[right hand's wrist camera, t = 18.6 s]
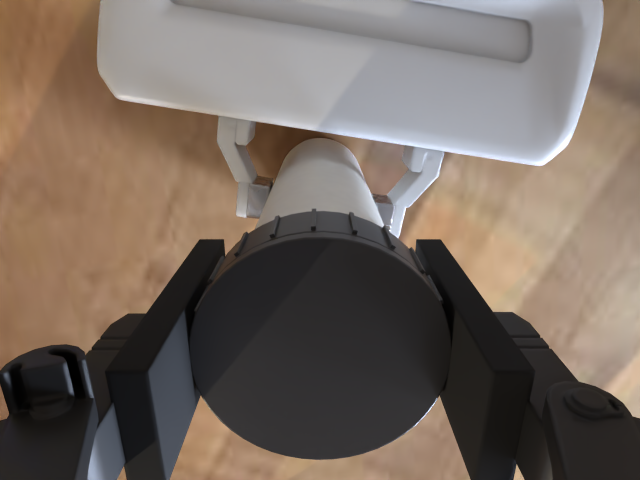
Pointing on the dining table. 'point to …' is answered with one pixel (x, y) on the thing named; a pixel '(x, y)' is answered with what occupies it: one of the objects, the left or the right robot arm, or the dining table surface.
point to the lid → (320, 337)
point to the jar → (320, 183)
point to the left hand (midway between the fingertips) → (318, 225)
